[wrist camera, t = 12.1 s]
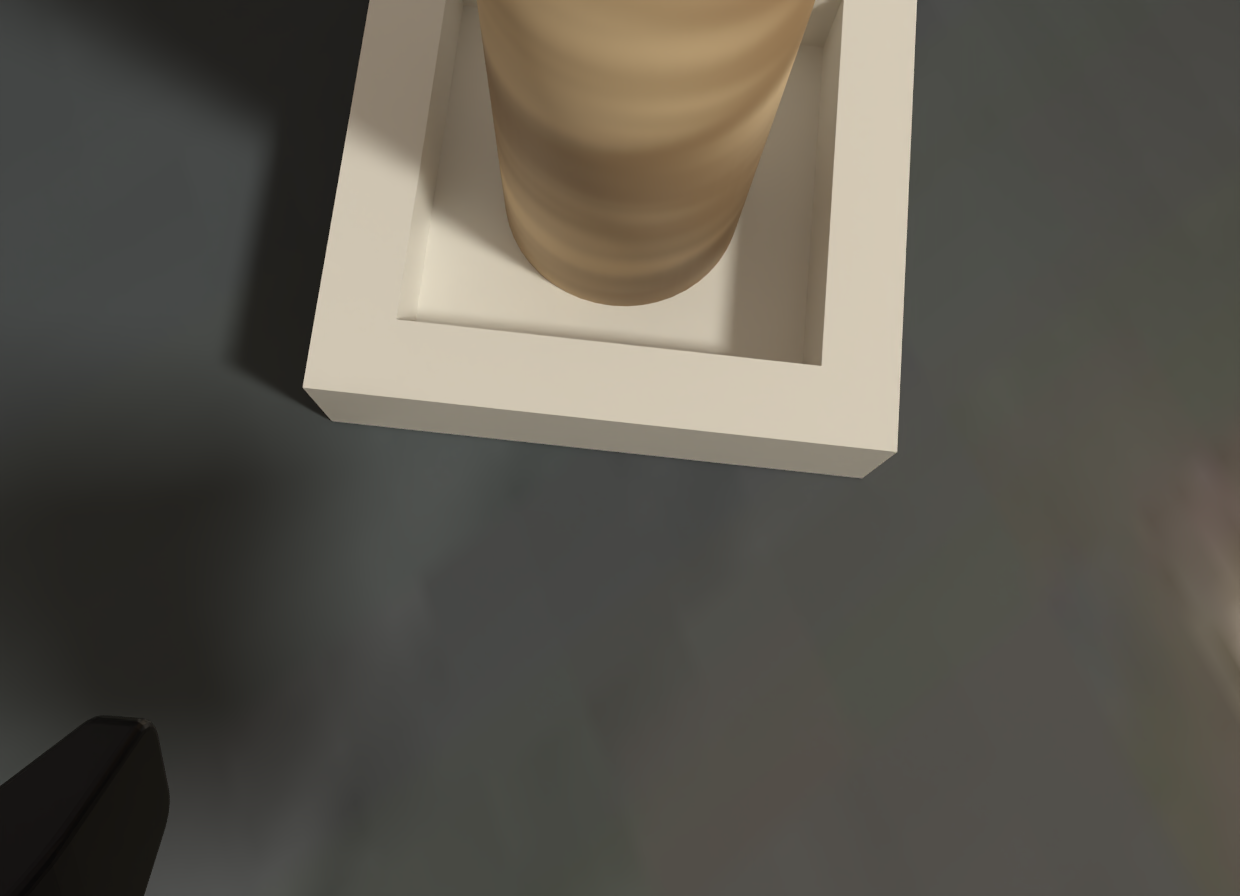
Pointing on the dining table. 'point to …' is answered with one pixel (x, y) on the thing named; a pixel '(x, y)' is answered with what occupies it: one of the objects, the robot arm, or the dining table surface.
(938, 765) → the dining table surface
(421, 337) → the tool holder
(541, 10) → the wooden tool handle
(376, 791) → the dining table surface
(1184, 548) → the dining table surface
